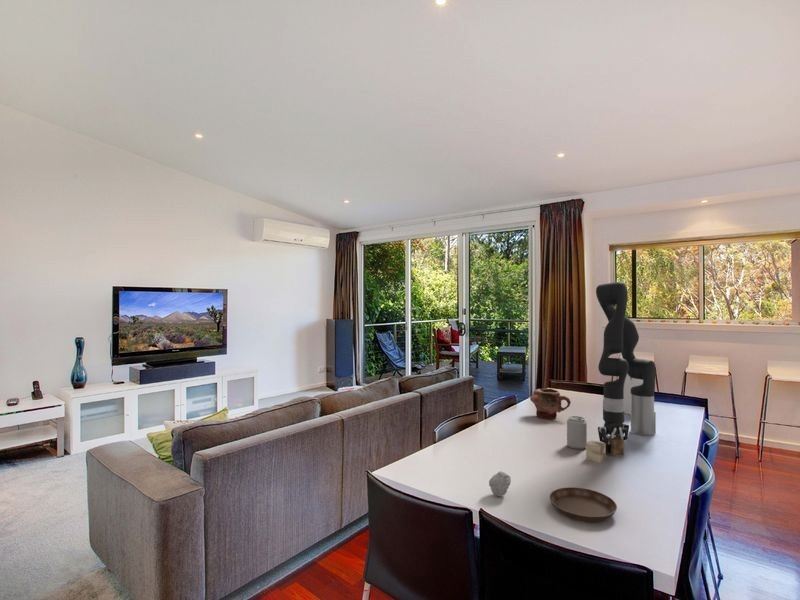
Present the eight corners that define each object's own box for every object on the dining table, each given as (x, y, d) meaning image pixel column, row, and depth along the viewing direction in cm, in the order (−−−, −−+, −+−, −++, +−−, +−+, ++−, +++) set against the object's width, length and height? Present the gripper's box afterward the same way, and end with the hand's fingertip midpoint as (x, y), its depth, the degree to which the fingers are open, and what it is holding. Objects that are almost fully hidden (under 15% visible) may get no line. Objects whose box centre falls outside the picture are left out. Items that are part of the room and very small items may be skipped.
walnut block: (613, 450, 169) (613, 435, 169) (623, 454, 164) (623, 439, 164) (603, 452, 167) (603, 437, 167) (614, 456, 162) (614, 440, 162)
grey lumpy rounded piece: (515, 497, 128) (515, 474, 128) (495, 501, 126) (495, 478, 126) (503, 489, 134) (503, 467, 134) (484, 492, 132) (484, 470, 132)
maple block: (592, 455, 163) (592, 440, 163) (605, 459, 160) (605, 443, 160) (586, 458, 160) (586, 442, 160) (599, 462, 156) (599, 446, 156)
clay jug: (572, 417, 217) (572, 390, 217) (569, 423, 206) (568, 394, 206) (532, 412, 227) (532, 386, 227) (527, 417, 216) (527, 390, 216)
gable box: (618, 404, 244) (618, 355, 244) (644, 406, 238) (644, 357, 238) (617, 413, 225) (616, 360, 225) (645, 416, 219) (645, 362, 219)
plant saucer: (548, 520, 116) (548, 509, 116) (550, 492, 132) (550, 483, 132) (621, 532, 110) (621, 521, 110) (613, 502, 126) (613, 492, 126)
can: (588, 450, 169) (588, 420, 169) (568, 449, 170) (568, 419, 170) (584, 444, 176) (584, 415, 176) (565, 443, 178) (565, 414, 178)
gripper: (619, 405, 172) (619, 447, 172) (591, 408, 167) (591, 451, 167) (635, 409, 165) (635, 453, 165) (607, 413, 160) (607, 458, 160)
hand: (613, 452), depth 166 cm, fingers open, 5 cm apart
